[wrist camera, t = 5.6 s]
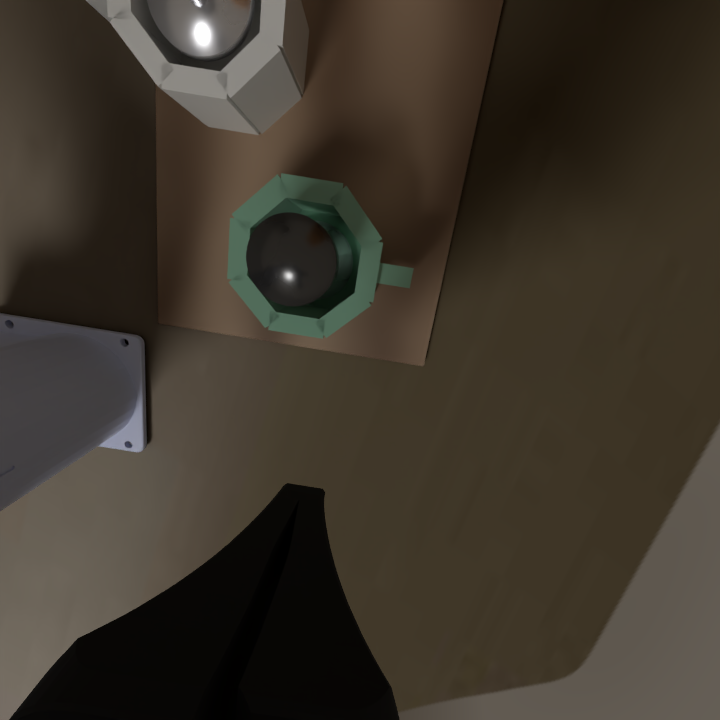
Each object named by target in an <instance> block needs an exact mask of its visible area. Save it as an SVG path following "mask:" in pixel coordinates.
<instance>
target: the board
mask: <svg viewBox="0 0 720 720" xmlns="http://www.w3.org/2000/svg"><path fill="white" fill-rule="evenodd" d="M301 2H302V6H303V9H304V13H305V17H306V20H307V24H308V28H309V39H308V50H307V60H306V71H305V82H304V93H303V95H301V94H300V95H301V99H300V100H299V101H298V102H297V103H296V104H295V105H294V106H293V107H291V108H290V109H289V110H288V111H287V112H286V113H285V114H284V115H283V116H282V117H281V118H279V119H278V120H277V121H276V122H275V123H274V124H273V125H272V126H271V127H270V128H268V129H267V130H266V131H265V132H264V133H263V134H261V133H260V131H259V135H255V134H249V133H242V132H236V131H230V130H224V129H218V128H212V127H208V126H207V125H205V124H204V123H202V122H201V121H200V120H199V119H198V118H196V117H195V116H194V115H193V114H191V113H190V112H189V111H188V110H186V109H185V108H184V107H183V106H181V105H180V104H179V103H178V102H177V101H175V100H174V99H173V98H172V97H170V96H169V95H168V94H167V93H165V92H164V91H163V90H162V89H160V88H159V87H158V86H157V85H156V179H157V275H158V324H165V325H171V326H177V327H183V328H189V329H196V330H202V331H208V332H214V333H220V334H227V335H233V336H239V337H245V338H251V339H258V340H264V341H270V342H276V343H282V344H289V345H295V346H301V347H307V348H314V349H320V350H326V351H332V352H338V353H345V354H351V355H357V356H363V357H369V358H376V359H382V360H388V361H394V362H400V363H407V364H413V365H419V366H424V362H425V358H426V353H427V349H428V344H429V339H430V335H431V330H432V326H433V321H434V317H435V312H436V307H437V303H438V298H439V294H440V289H441V284H442V280H443V275H444V271H445V266H446V262H447V257H448V252H449V248H450V243H451V239H452V234H453V229H454V225H455V220H456V216H457V211H458V207H459V202H460V197H461V193H462V188H463V184H464V179H465V174H466V170H467V165H468V161H469V156H470V152H471V147H472V142H473V138H474V133H475V129H476V124H477V119H478V115H479V110H480V106H481V101H482V97H483V92H484V87H485V83H486V78H487V74H488V69H489V64H490V60H491V55H492V51H493V46H494V42H495V37H496V32H497V28H498V23H499V19H500V14H501V9H502V5H503V0H301ZM281 173H283V174H289V175H295V176H302V177H308V178H314V179H320V180H326V181H332V182H338V183H343V185H344V187H345V186H347V187H348V189H349V190H350V192H351V193H352V195H353V196H354V198H355V199H356V201H357V202H358V204H359V205H360V206H361V208H362V209H363V211H364V212H365V214H366V215H367V217H368V218H369V220H370V221H371V223H372V224H373V226H374V227H375V229H376V230H377V232H378V233H379V235H380V236H381V238H382V241H381V242H382V243H383V247H382V253H381V259H380V263H384V264H391V265H397V266H403V267H409V268H414V269H413V274H412V279H411V284H410V288H404V287H398V286H392V285H386V284H380V283H376V289H375V295H374V301H373V302H372V303H371V306H370V307H369V308H367V309H366V310H364V311H363V312H362V313H360V314H359V315H358V316H356V317H355V318H353V319H352V320H351V321H349V322H348V323H346V324H345V325H344V326H342V327H341V328H340V329H338V330H337V331H335V332H334V333H333V334H331V335H330V336H328V337H327V338H326V337H324V338H323V339H321V338H315V337H308V336H302V335H296V334H290V333H284V332H277V331H271V330H268V328H269V326H268V327H267V328H265V327H264V326H263V325H262V323H261V322H260V321H259V320H258V319H257V317H256V316H255V315H254V314H253V312H252V311H251V310H250V309H249V307H248V306H247V305H246V304H245V302H244V301H243V300H242V299H241V297H240V296H239V295H238V294H237V292H236V291H235V290H234V289H233V287H232V286H231V285H230V284H229V281H231V280H232V279H227V272H228V250H229V228H230V218H234V217H233V215H232V213H234V212H235V211H236V210H237V209H238V208H239V207H241V206H242V205H243V204H244V203H245V202H246V201H247V200H249V199H250V198H251V197H252V196H253V195H254V194H255V193H257V192H258V191H259V190H260V189H261V188H262V187H263V186H265V185H266V184H267V183H268V182H269V181H270V180H271V179H273V178H274V177H275V176H276V175H277V174H278V175H279V176H280V177H281Z"/></svg>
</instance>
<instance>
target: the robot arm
mask: <svg viewBox="0 0 720 720" xmlns="http://www.w3.org/2000/svg"><path fill="white" fill-rule="evenodd" d="M12 322H13V324H14V326H13V325H12ZM125 339H127V340H128V342H129V345H127V344H126V343H125ZM129 442H131V443H132V445H131V444H130V443H129ZM97 446H101V447H107V448H114V449H120V450H126V451H133V452H141V451H143V450H144V449H145V448H146V446H147V432H146V387H145V344H144V340H143V339H142V338H141V337H140V336H138V335H134V334H128V333H122V332H115V331H109V330H103V329H97V328H91V327H84V326H78V325H72V324H66V323H60V322H53V321H47V320H41V319H35V318H29V317H22V316H16V315H10V314H4V313H0V511H2V510H3V509H5V508H6V507H8V506H9V505H11V504H12V503H14V502H15V501H17V500H18V499H20V498H21V497H23V496H24V495H26V494H27V493H29V492H30V491H32V490H33V489H35V488H36V487H38V486H39V485H41V484H42V483H44V482H45V481H47V480H48V479H50V478H51V477H53V476H54V475H56V474H57V473H59V472H60V471H61V470H63V469H64V468H66V467H67V466H69V465H70V464H72V463H73V462H75V461H76V460H78V459H79V458H81V457H82V456H84V455H85V454H87V453H88V452H90V451H91V450H93V449H94V448H96V447H97ZM324 496H325V492H324V490H323V489H320V488H314V487H308V486H301V485H295V484H289V483H287V484H285V485H284V486H283V487H282V489H281V490H280V491H279V492H278V494H277V495H276V496H275V497H274V498H273V500H272V501H271V502H270V503H269V504H268V505H267V506H266V508H265V509H264V510H263V511H262V512H261V513H260V514H259V515H258V516H257V517H256V518H255V519H254V520H253V521H252V522H251V523H250V524H249V525H248V526H247V527H246V528H245V529H244V530H243V531H242V532H241V533H240V534H239V535H237V536H236V537H235V538H234V539H233V540H232V541H231V542H230V543H229V544H228V545H226V546H225V547H224V548H223V549H222V550H221V551H219V552H218V553H217V554H216V555H214V556H213V557H212V558H211V559H209V560H208V561H207V562H206V563H204V564H203V565H202V566H200V567H199V568H197V569H196V570H195V571H193V572H192V573H190V574H189V575H188V576H186V577H185V578H184V579H182V580H181V581H179V582H178V583H176V584H175V585H173V586H172V587H170V588H169V589H167V590H165V591H164V592H162V593H160V594H159V595H157V596H156V597H154V598H152V599H151V600H149V601H147V602H146V603H144V604H142V605H141V606H139V607H138V608H136V609H134V610H132V611H131V612H129V613H127V614H125V615H123V616H121V617H119V618H117V619H115V620H114V621H112V622H110V623H108V624H106V625H104V626H102V627H100V628H98V629H96V630H94V631H92V632H90V633H88V634H86V635H84V636H82V637H80V638H78V639H77V640H76V641H75V642H74V643H73V644H72V645H71V646H70V648H69V649H68V650H67V651H66V652H65V653H64V654H63V655H62V656H61V657H60V658H59V659H58V660H57V661H56V663H55V664H54V665H53V666H52V667H51V668H50V669H49V671H48V672H47V673H46V674H45V675H44V677H43V678H42V679H41V680H40V682H39V683H38V684H37V685H36V687H35V688H34V689H33V690H32V692H31V693H30V694H29V695H28V697H27V698H26V699H25V700H24V702H23V703H22V704H21V706H20V707H19V708H18V709H17V711H16V712H15V713H14V714H13V716H12V717H11V718H10V719H9V720H399V716H398V711H397V707H396V703H395V699H394V696H393V692H392V688H391V686H390V684H389V683H388V681H387V679H386V678H385V676H384V674H383V673H382V671H381V669H380V667H379V666H378V664H377V662H376V660H375V658H374V657H373V655H372V653H371V651H370V649H369V647H368V645H367V643H366V641H365V639H364V637H363V635H362V633H361V631H360V629H359V627H358V625H357V622H356V620H355V618H354V616H353V613H352V611H351V609H350V607H349V604H348V602H347V599H346V597H345V594H344V591H343V589H342V586H341V583H340V580H339V577H338V574H337V571H336V567H335V564H334V560H333V557H332V553H331V549H330V544H329V540H328V534H327V528H326V522H325V513H324Z"/></svg>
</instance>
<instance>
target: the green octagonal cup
mask: <svg viewBox="0 0 720 720" xmlns="http://www.w3.org/2000/svg"><path fill="white" fill-rule="evenodd" d="M284 212H292V213H298V214H302V215H305V216H307V217H309V218H311V219H313V220H316V221H322V222H326V223H328V224H330V225H332V226H334V227H335V228H336V229H338V230H339V231H340V232H341V233H342V234H343V235H344V236H345V238H346V239H347V241H348V243H349V245H350V247H351V251H352V255H353V268H352V272H351V275H350V278H349V280H348V282H347V283H346V284H345V286H344V287H343V288H342V289H341V290H340V291H339V292H337V293H336V294H334V295H333V296H330V297H328V298H325V299H317V300H315V301H313V302H311V303H309V304H306V305H302V306H285V305H281V304H278V303H275V302H273V301H271V300H270V299H268V298H267V297H265V296H264V295H263V294H262V293H261V292H260V291H259V290H258V289H257V287H256V286H255V285H254V283H253V281H252V279H251V277H250V275H249V272H248V268H247V263H246V251H247V245H248V242H249V239H250V237H251V235H252V233H253V231H254V230H255V229H256V227H257V226H258V225H259V224H260V223H261V222H262V221H264V220H265V219H266V218H268V217H270V216H272V215H275V214H278V213H284ZM232 215H233V217H234V218H230V228H229V250H228V272H227V279H232V280H231V281H229V284H230V285H231V286H232V287H233V289H234V290H235V291H236V292H237V294H238V295H239V296H240V297H241V299H242V300H243V301H244V302H245V304H246V305H247V306H248V307H249V309H250V310H251V311H252V312H253V314H254V315H255V316H256V317H257V319H258V320H259V321H260V322H261V323H262V325H263V326H264V327H265V328H267V327H268V326H269V328H268V330H271V331H277V332H284V333H290V334H296V335H302V336H308V337H315V338H321V339H323V338H324V337H326V338H327V337H328V336H330V335H331V334H333V333H334V332H335V331H337V330H338V329H340V328H341V327H342V326H344V325H345V324H346V323H348V322H349V321H351V320H352V319H353V318H355V317H356V316H358V315H359V314H360V313H362V312H363V311H364V310H366V309H367V308H369V307H370V306H371V303H372V302H373V301H374V295H375V289H376V283H380V284H386V285H392V286H398V287H404V288H410V284H411V279H412V274H413V269H414V268H409V267H403V266H397V265H391V264H384V263H380V259H381V253H382V247H383V243H382V242H381V241H382V238H381V236H380V235H379V233H378V232H377V230H376V229H375V227H374V226H373V224H372V223H371V221H370V220H369V218H368V217H367V215H366V214H365V212H364V211H363V209H362V208H361V206H360V205H359V204H358V202H357V201H356V199H355V198H354V196H353V195H352V193H351V192H350V190H349V189H348V187H347V186H345V187H344V185H343V183H338V182H332V181H326V180H320V179H314V178H308V177H302V176H295V175H289V174H283V173H281V177H280V176H279V175H278V174H277V175H276V176H275V177H274V178H273V179H271V180H270V181H269V182H268V183H267V184H266V185H265V186H263V187H262V188H261V189H260V190H259V191H258V192H257V193H255V194H254V195H253V196H252V197H251V198H250V199H249V200H247V201H246V202H245V203H244V204H243V205H242V206H241V207H239V208H238V209H237V210H236V211H235V212H234V213H232Z"/></svg>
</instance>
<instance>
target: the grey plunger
mask: <svg viewBox="0 0 720 720" xmlns="http://www.w3.org/2000/svg"><path fill="white" fill-rule="evenodd" d="M147 3H148V6H149V10H150V12H151V15H152V17H153V19H154V21H155V23H156V25H157V27H158V28H159V30H160V31H161V33H162V34H163V35H164V36H165V37H166V39H167V40H168V41H169V42H170V43H171V44H172V45H173V46H174V47H175V48H176V49H177V50H179V51H180V52H181V53H182V54H184V55H186V56H188V57H189V58H192V59H194V60H198V61H203V62H214V61H219V60H222V59H224V58H227V57H228V56H230V55H231V54H233V53H234V52H235V51H236V50H237V49H238V48H239V47H240V46H241V45H242V44H243V42H244V41H245V39H246V37H247V35H248V33H249V31H250V28H251V25H252V21H253V16H254V0H147Z"/></svg>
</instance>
